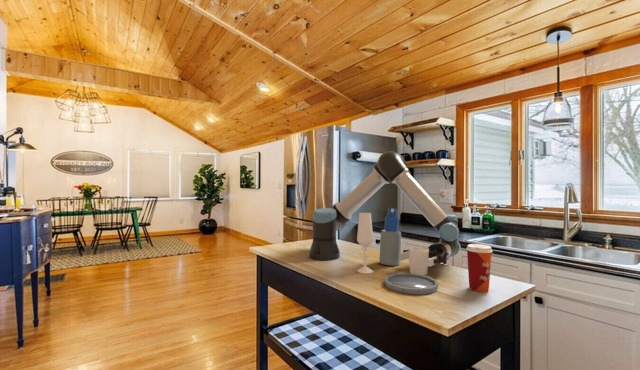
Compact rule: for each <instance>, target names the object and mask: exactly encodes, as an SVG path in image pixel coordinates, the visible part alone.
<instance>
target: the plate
mask: <svg viewBox="0 0 640 370" xmlns="http://www.w3.org/2000/svg"><path fill="white" fill-rule="evenodd" d="M384 285H385V287H386V288H388V289H389V290H391V291H393V292H397V293H401V294H405V295H415V296H416V295H417V296H419V295H429V294H430V295H431V294H434V293H436V292H437V291H438V288H439V284H438V280H436V279H434V278H432V277H431V276H429V275H419V274H411V273H408V272H398V273H391V274H389V275H386V276H385V278H384Z"/></svg>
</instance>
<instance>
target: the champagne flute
mask: <svg viewBox="0 0 640 370" xmlns="http://www.w3.org/2000/svg"><path fill="white" fill-rule="evenodd" d="M357 225H358V226H357V236H356V241H357V243H358V244H359V245H360V246H361V247H362V248H363V266H362V267H360V268H358V269H357V270H356V272H358V273H361V274H372V273H374V270H372V268H370V267H368V265H367V260H368V259H367V254H368V253H367V248H368V247H370V246H371V245H372V243H373V242H374V234H373V233H374V232H373V219H372V213H371V212H359V214H358V224H357Z"/></svg>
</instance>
